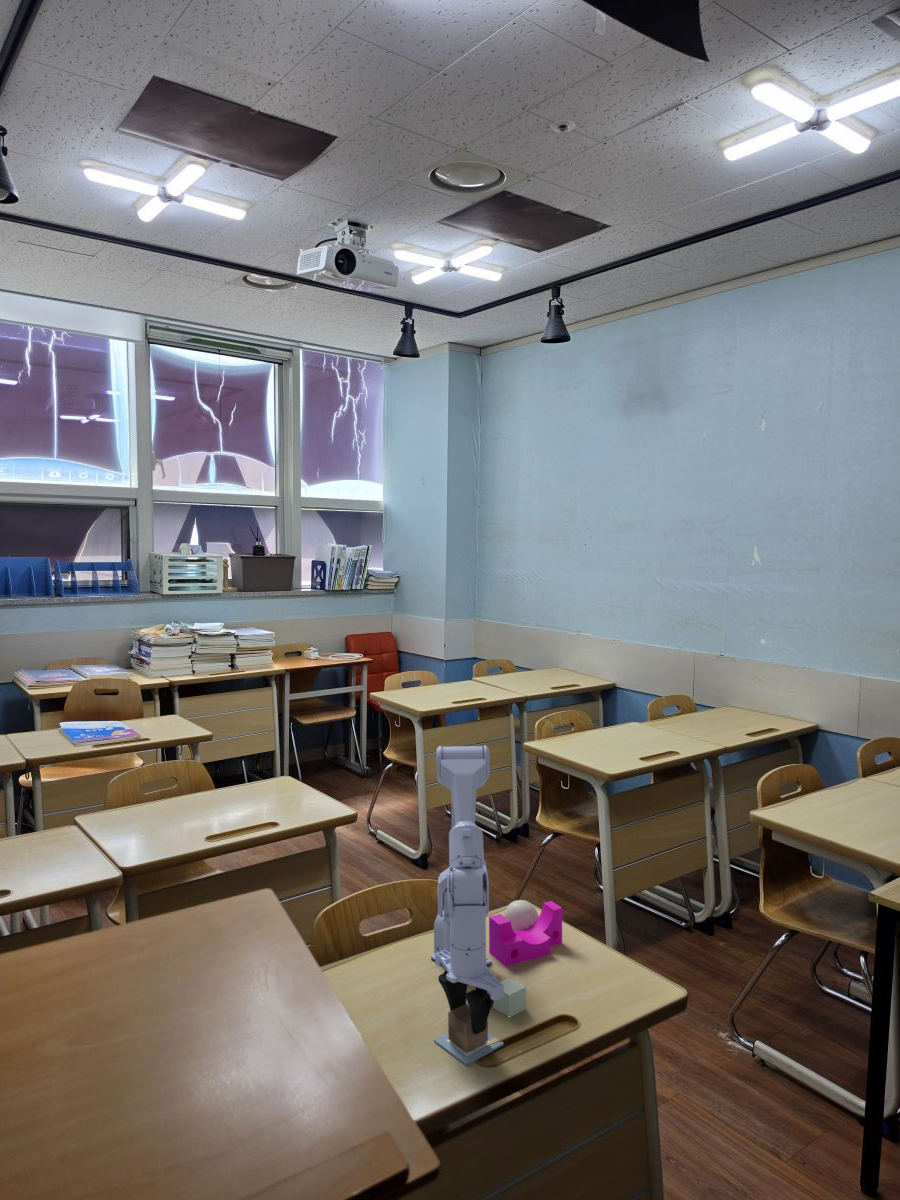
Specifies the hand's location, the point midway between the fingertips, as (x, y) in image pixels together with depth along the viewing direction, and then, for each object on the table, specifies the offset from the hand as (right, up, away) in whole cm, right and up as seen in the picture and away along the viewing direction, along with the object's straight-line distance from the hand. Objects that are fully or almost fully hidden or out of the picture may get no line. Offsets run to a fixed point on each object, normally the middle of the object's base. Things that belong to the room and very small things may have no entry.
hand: (468, 1024), depth 127 cm
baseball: (+12, -1, +37) cm, 39 cm away
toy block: (+13, -2, +30) cm, 33 cm away
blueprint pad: (0, -3, 0) cm, 3 cm away
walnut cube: (0, -3, 0) cm, 3 cm away
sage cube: (+7, -3, +10) cm, 13 cm away
